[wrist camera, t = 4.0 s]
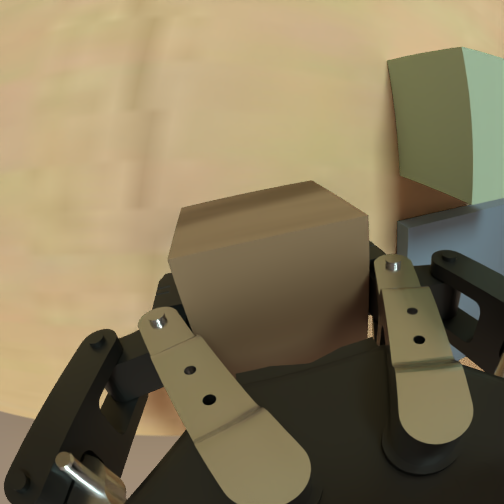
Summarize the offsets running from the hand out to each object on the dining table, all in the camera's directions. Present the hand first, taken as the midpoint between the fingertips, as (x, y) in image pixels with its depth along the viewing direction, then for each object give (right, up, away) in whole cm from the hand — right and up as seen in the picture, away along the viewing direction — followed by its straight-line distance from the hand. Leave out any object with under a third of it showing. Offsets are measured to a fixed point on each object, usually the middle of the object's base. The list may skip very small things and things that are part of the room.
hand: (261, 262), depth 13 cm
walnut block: (0, 0, +1) cm, 1 cm away
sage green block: (+9, +7, -1) cm, 11 cm away
